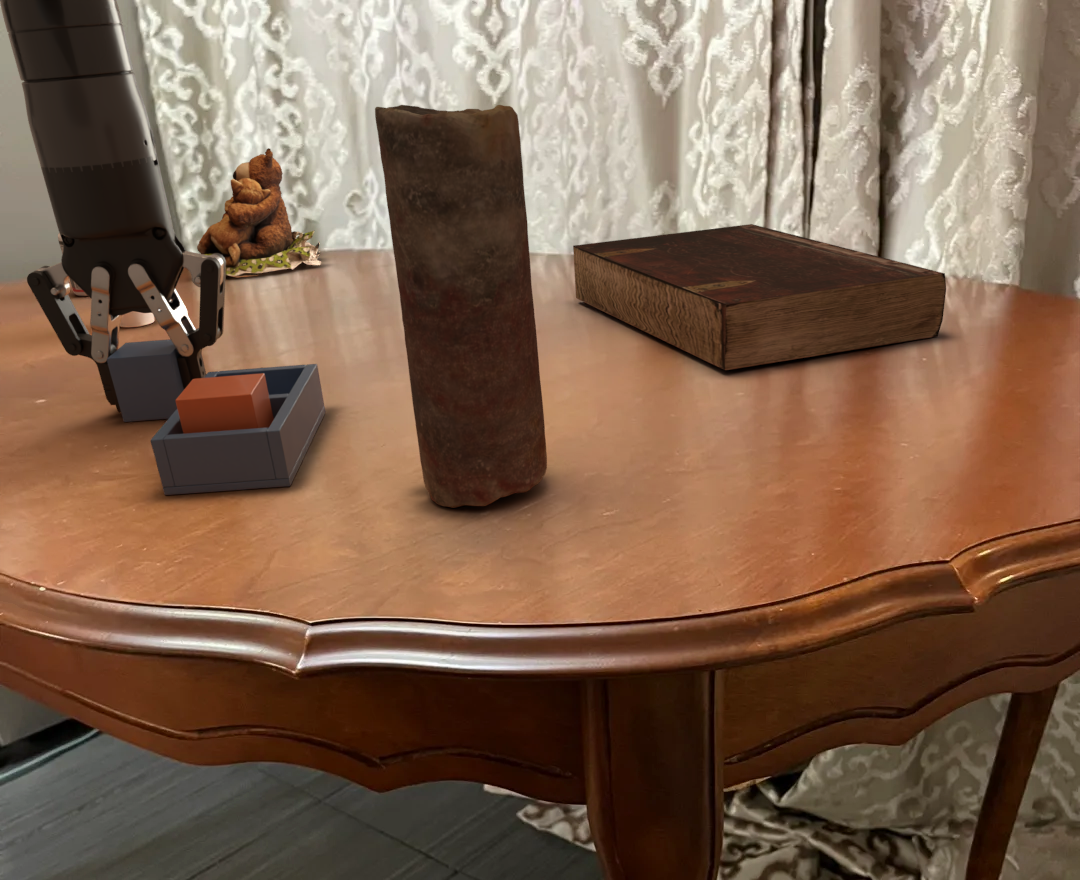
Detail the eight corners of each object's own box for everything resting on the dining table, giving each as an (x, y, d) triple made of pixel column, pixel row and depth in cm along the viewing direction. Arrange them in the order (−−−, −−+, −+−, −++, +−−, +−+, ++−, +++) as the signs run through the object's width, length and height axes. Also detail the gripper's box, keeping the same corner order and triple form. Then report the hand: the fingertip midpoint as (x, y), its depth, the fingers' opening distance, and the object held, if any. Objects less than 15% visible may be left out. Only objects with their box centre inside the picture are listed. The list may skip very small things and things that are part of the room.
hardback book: (940, 335, 86) (948, 267, 84) (724, 375, 81) (726, 304, 79) (752, 274, 110) (754, 219, 107) (576, 302, 105) (573, 245, 102)
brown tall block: (425, 470, 69) (377, 101, 58) (543, 460, 69) (517, 90, 58) (423, 517, 62) (369, 112, 52) (553, 505, 62) (526, 99, 52)
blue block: (123, 422, 82) (106, 358, 80) (141, 403, 86) (125, 342, 83) (185, 417, 82) (169, 354, 79) (200, 399, 86) (186, 337, 83)
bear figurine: (198, 263, 137) (174, 152, 130) (321, 250, 139) (303, 140, 132) (189, 284, 125) (162, 164, 119) (323, 270, 127) (303, 151, 121)
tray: (164, 495, 68) (149, 439, 66) (219, 420, 81) (207, 371, 79) (290, 486, 68) (279, 430, 66) (325, 412, 81) (317, 363, 79)
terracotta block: (192, 473, 69) (174, 399, 67) (209, 448, 73) (192, 378, 71) (266, 467, 69) (250, 393, 67) (278, 443, 73) (264, 372, 71)
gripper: (-31, 169, 72) (50, 430, 81) (189, 152, 71) (246, 415, 80) (14, 156, 78) (84, 399, 87) (216, 140, 78) (266, 385, 87)
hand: (161, 405), depth 84 cm, fingers closed on blue block, 4 cm apart
